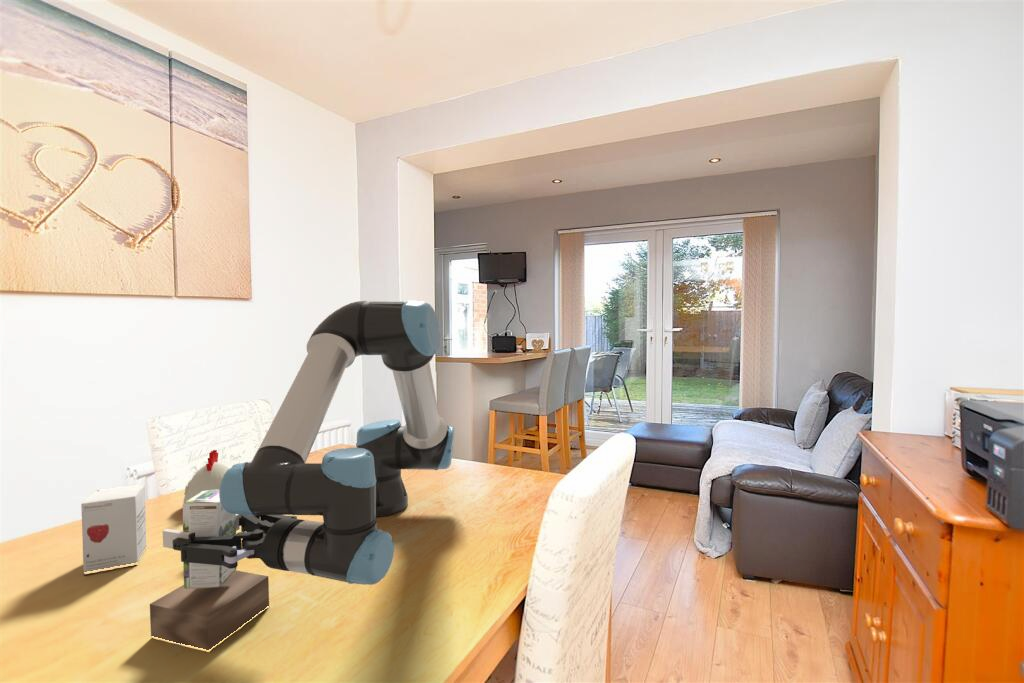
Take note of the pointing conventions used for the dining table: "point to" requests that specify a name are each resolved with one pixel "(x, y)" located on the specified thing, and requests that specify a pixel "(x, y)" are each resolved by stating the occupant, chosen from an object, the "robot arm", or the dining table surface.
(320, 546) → the robot arm
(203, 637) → the walnut block
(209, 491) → the syrup box
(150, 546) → the dining table surface
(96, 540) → the supplement box
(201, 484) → the kitchen timer
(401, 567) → the dining table surface
